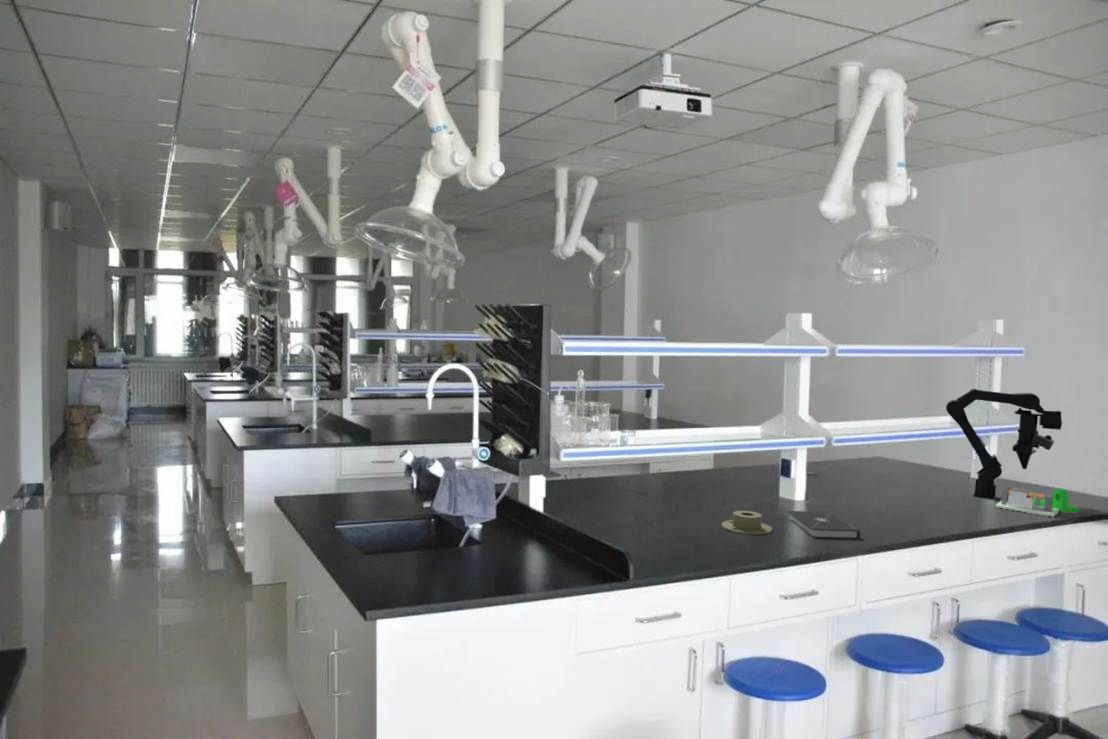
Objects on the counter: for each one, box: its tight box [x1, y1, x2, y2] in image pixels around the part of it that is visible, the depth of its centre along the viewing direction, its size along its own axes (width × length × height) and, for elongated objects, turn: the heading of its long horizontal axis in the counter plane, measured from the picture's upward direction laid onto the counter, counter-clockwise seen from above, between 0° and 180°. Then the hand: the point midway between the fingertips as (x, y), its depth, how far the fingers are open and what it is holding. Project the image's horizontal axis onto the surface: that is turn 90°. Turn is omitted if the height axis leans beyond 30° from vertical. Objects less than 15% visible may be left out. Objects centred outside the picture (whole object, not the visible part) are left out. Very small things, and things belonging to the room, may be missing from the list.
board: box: [995, 500, 1060, 518], centre depth 291 cm, size 18×12×1 cm, turn 52°
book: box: [786, 510, 861, 540], centre depth 253 cm, size 22×15×3 cm
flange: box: [721, 510, 773, 536], centre depth 250 cm, size 5×15×15 cm
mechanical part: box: [1039, 488, 1079, 513], centre depth 294 cm, size 12×6×8 cm, turn 3°
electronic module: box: [1000, 486, 1053, 512], centre depth 291 cm, size 15×7×6 cm, turn 52°
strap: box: [1008, 489, 1046, 499], centre depth 291 cm, size 13×3×1 cm, turn 52°
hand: (1024, 468), depth 304 cm, fingers closed
